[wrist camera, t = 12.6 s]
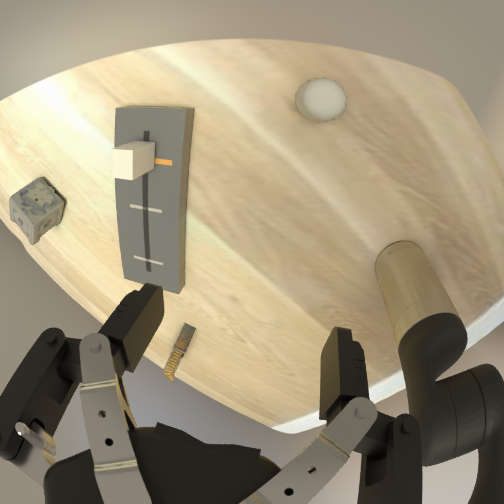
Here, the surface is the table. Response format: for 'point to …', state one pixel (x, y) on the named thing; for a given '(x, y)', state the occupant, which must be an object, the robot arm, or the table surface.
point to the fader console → (155, 196)
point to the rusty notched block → (178, 350)
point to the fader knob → (132, 159)
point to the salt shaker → (321, 100)
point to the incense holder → (36, 209)
